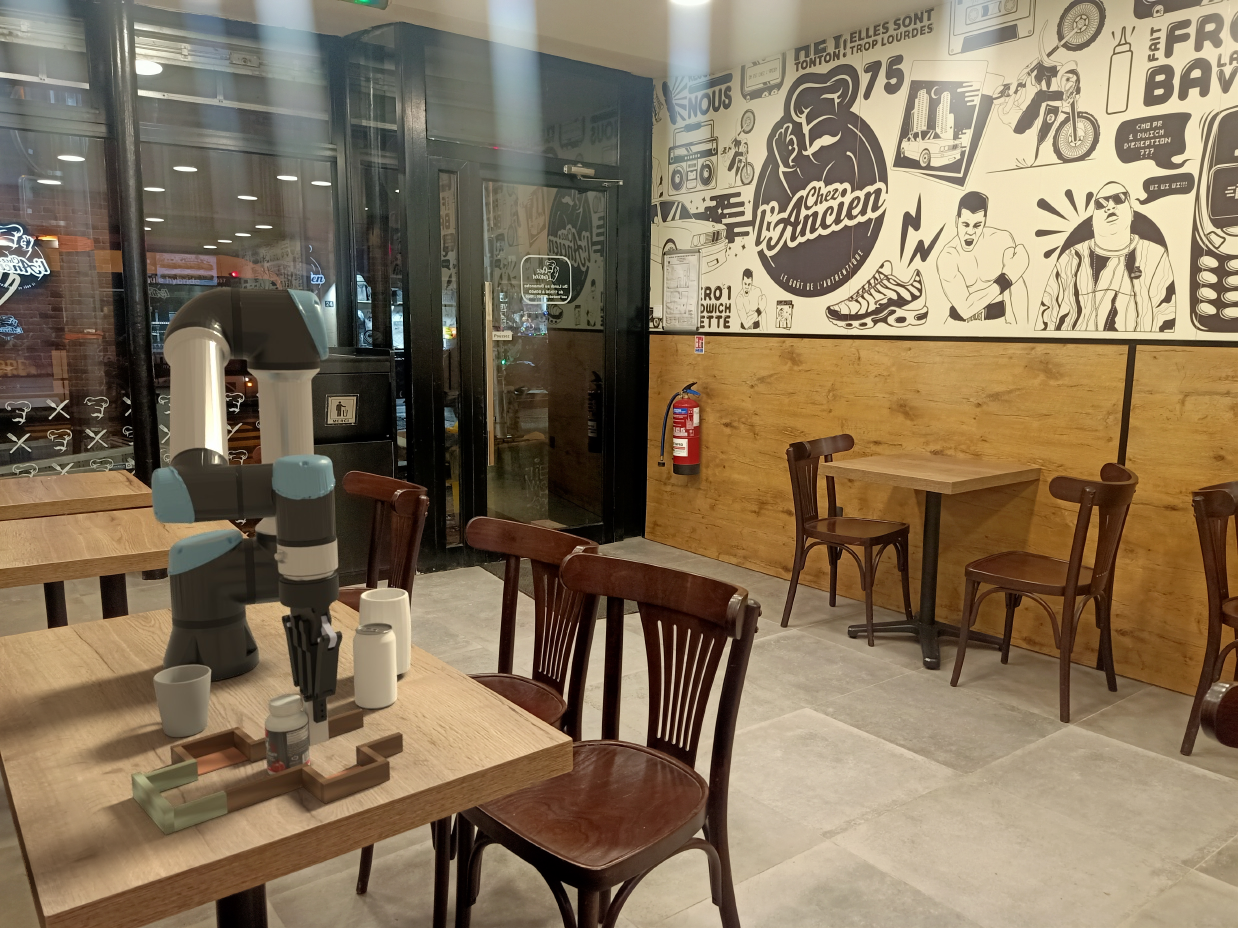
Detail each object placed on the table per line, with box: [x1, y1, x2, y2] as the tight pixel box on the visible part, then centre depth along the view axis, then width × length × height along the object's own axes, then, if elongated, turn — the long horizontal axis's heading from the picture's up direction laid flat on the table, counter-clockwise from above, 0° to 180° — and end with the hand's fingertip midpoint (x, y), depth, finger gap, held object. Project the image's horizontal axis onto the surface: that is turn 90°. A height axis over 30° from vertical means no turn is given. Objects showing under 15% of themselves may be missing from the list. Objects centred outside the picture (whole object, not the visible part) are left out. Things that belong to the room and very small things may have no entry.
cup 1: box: [152, 665, 212, 738], centre depth 133 cm, size 8×10×8 cm
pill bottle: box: [264, 693, 311, 775], centre depth 120 cm, size 5×5×10 cm
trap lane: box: [130, 708, 404, 835], centre depth 119 cm, size 24×31×3 cm
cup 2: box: [358, 587, 412, 676], centre depth 153 cm, size 8×8×14 cm
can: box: [352, 623, 398, 710], centre depth 142 cm, size 6×6×12 cm
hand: (317, 741), depth 123 cm, fingers closed
